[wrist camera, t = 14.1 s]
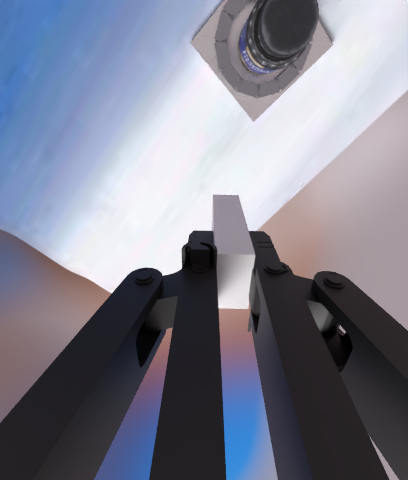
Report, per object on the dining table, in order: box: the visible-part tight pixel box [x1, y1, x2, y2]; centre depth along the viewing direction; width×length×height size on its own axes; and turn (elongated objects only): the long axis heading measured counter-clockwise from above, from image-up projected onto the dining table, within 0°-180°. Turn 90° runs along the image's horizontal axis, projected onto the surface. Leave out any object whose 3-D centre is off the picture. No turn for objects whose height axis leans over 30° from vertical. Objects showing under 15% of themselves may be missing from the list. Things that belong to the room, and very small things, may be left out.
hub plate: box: [190, 0, 333, 122], centre depth 30 cm, size 12×12×2 cm
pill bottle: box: [238, 0, 319, 74], centre depth 26 cm, size 6×6×11 cm
